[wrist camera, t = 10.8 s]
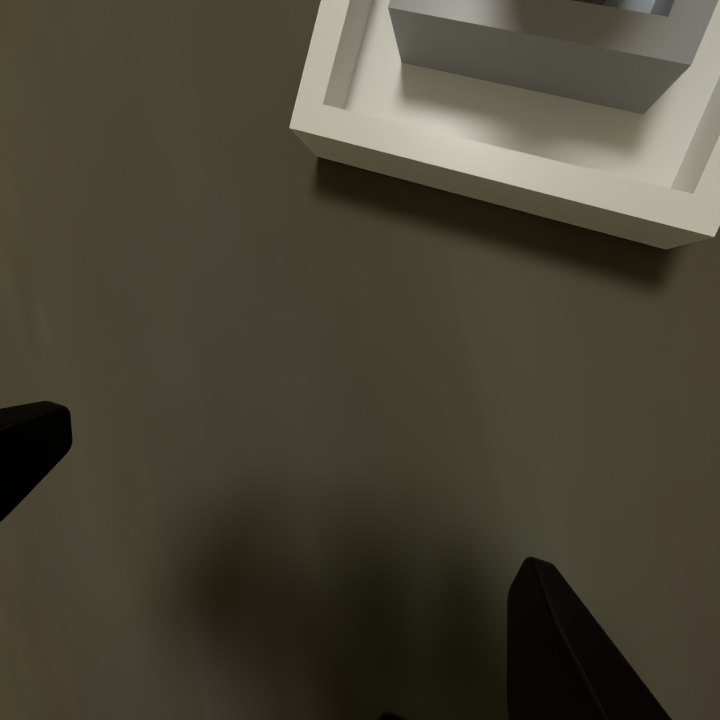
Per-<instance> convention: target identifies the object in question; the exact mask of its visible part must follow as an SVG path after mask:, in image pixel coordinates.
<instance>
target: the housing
mask: <svg viewBox="0 0 720 720" xmlns="http://www.w3.org/2000/svg"><path fill="white" fill-rule="evenodd" d="M289 128H290V129H291V130H292V131H293V132H294V133H295V134H296V135H297V136H298V137H299V138H300V139H301V140H302V141H303V142H304V143H305V145H306V146H307V147H308V148H309V149H310V150H311V151H312V152H313V153H314V154H315V155H316V156H317V157H321V158H324V159H328V160H332V161H336V162H339V163H343V164H347V165H351V166H354V167H358V168H362V169H366V170H369V171H373V172H377V173H381V174H384V175H388V176H392V177H396V178H399V179H403V180H407V181H411V182H414V183H418V184H422V185H426V186H429V187H433V188H437V189H441V190H444V191H448V192H452V193H456V194H459V195H463V196H467V197H471V198H474V199H478V200H482V201H486V202H489V203H493V204H497V205H501V206H504V207H508V208H512V209H516V210H519V211H523V212H527V213H531V214H534V215H538V216H542V217H546V218H549V219H553V220H557V221H560V222H564V223H568V224H572V225H575V226H579V227H583V228H587V229H590V230H594V231H598V232H602V233H605V234H609V235H613V236H617V237H620V238H624V239H628V240H632V241H635V242H639V243H643V244H647V245H650V246H654V247H658V248H662V249H665V250H666V249H670V248H674V247H678V246H682V245H685V244H689V243H693V242H697V241H701V240H705V239H708V238H712V237H714V236H715V234H716V232H717V230H718V228H719V226H720V0H606V1H605V2H604V3H603V4H602V5H596V4H590V3H585V2H579V1H573V0H321V3H320V7H319V11H318V15H317V19H316V23H315V27H314V31H313V35H312V39H311V43H310V47H309V51H308V55H307V59H306V63H305V67H304V71H303V75H302V79H301V83H300V87H299V91H298V95H297V99H296V103H295V107H294V111H293V115H292V119H291V123H290V127H289Z"/></svg>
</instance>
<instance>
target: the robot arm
mask: <svg viewBox="0 0 720 720" xmlns="http://www.w3.org/2000/svg"><path fill="white" fill-rule="evenodd" d="M71 445H72V428H71V416H70V411H69V410H68V408H67V407H65V406H63V405H60V404H57V403H54V402H50V401H41V402H35V403H30V404H24V405H19V406H13V407H8V408H2V409H0V522H1V521H2V520H3V519H4V518H5V517H6V516H7V515H8V514H9V513H10V512H11V511H12V510H13V509H14V508H15V507H16V506H17V505H18V504H19V503H20V502H21V501H22V500H23V499H24V498H25V497H26V496H27V495H28V494H29V493H30V492H31V491H32V489H33V488H34V487H35V486H36V485H37V484H38V483H39V482H40V481H41V480H42V479H43V478H44V477H45V476H46V475H47V474H48V473H49V472H50V471H51V470H52V469H53V467H54V466H55V465H56V464H57V463H58V462H59V461H60V460H61V459H62V458H63V457H64V456H65V455H66V454H67V453H68V451H69V449H70V448H71ZM507 703H508V717H509V720H672V719H671V718H670V717H669V715H668V714H667V713H666V711H665V710H664V709H663V708H662V706H661V705H660V704H659V702H658V701H657V700H656V698H655V697H654V696H653V694H652V693H651V692H650V690H649V689H648V688H647V687H646V685H645V684H644V683H643V681H642V680H641V679H640V677H639V676H638V675H637V673H636V672H635V671H634V669H633V668H632V667H631V665H630V664H629V663H628V662H627V660H626V659H625V658H624V656H623V655H622V654H621V652H620V651H619V650H618V648H617V647H616V646H615V644H614V643H613V642H612V641H611V639H610V638H609V637H608V635H607V634H606V633H605V631H604V630H603V629H602V627H601V626H600V625H599V623H598V622H597V621H596V620H595V618H594V617H593V616H592V614H591V613H590V612H589V610H588V609H587V608H586V606H585V605H584V604H583V602H582V601H581V600H580V599H579V597H578V596H577V595H576V593H575V592H574V591H573V589H572V588H571V587H570V585H569V584H568V583H567V581H566V580H565V579H564V577H563V576H562V575H561V574H560V572H559V571H558V570H557V568H556V567H555V566H554V565H553V564H551V563H549V562H547V561H544V560H541V559H537V558H534V557H527V558H526V559H525V560H524V562H523V564H522V566H521V567H520V569H519V571H518V573H517V575H516V577H515V579H514V581H513V583H512V584H511V587H510V589H509V593H508V600H507ZM380 720H399V719H397V718H395V717H393V716H390V715H384V716H382V717H381V718H380Z"/></svg>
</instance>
